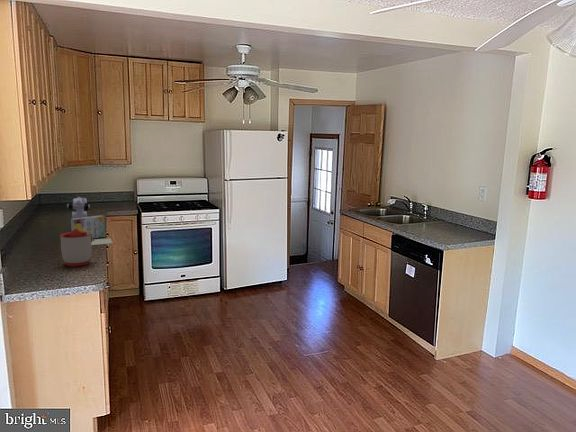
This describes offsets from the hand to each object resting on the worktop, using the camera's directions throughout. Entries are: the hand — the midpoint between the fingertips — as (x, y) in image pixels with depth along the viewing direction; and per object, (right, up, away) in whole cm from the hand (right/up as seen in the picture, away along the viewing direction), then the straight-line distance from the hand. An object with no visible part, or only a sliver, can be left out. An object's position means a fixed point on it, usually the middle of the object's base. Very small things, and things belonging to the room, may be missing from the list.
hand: (78, 208), depth 307 cm
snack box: (+7, -21, +1) cm, 22 cm away
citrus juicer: (+28, -32, -59) cm, 73 cm away
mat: (+12, -23, -9) cm, 28 cm away
